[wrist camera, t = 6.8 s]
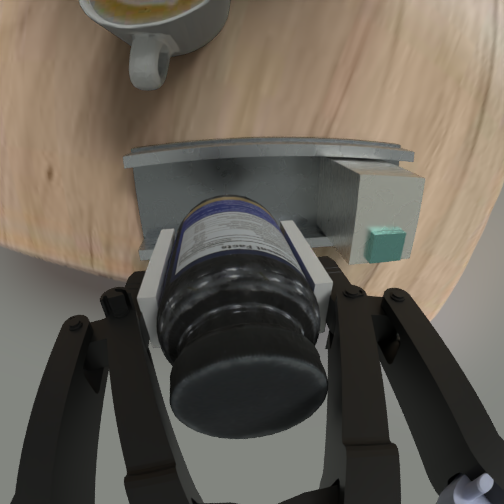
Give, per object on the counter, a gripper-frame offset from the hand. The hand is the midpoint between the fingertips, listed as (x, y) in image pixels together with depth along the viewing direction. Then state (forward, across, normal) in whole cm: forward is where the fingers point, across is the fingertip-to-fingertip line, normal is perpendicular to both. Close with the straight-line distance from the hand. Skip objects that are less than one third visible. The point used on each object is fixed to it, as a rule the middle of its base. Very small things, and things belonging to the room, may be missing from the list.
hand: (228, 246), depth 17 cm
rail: (+11, +5, 0) cm, 12 cm away
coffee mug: (+11, -4, +17) cm, 21 cm away
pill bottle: (+1, 0, 0) cm, 1 cm away
